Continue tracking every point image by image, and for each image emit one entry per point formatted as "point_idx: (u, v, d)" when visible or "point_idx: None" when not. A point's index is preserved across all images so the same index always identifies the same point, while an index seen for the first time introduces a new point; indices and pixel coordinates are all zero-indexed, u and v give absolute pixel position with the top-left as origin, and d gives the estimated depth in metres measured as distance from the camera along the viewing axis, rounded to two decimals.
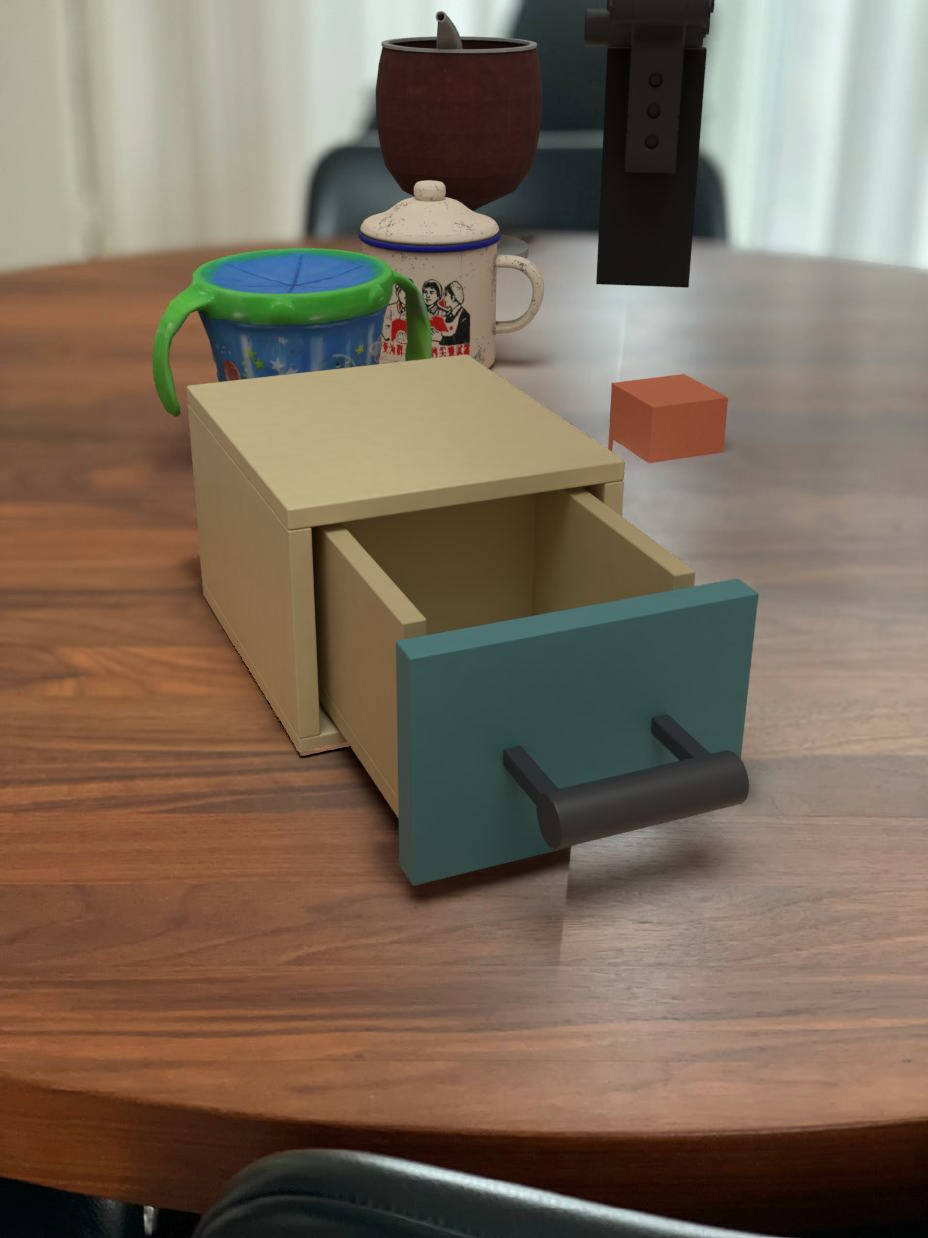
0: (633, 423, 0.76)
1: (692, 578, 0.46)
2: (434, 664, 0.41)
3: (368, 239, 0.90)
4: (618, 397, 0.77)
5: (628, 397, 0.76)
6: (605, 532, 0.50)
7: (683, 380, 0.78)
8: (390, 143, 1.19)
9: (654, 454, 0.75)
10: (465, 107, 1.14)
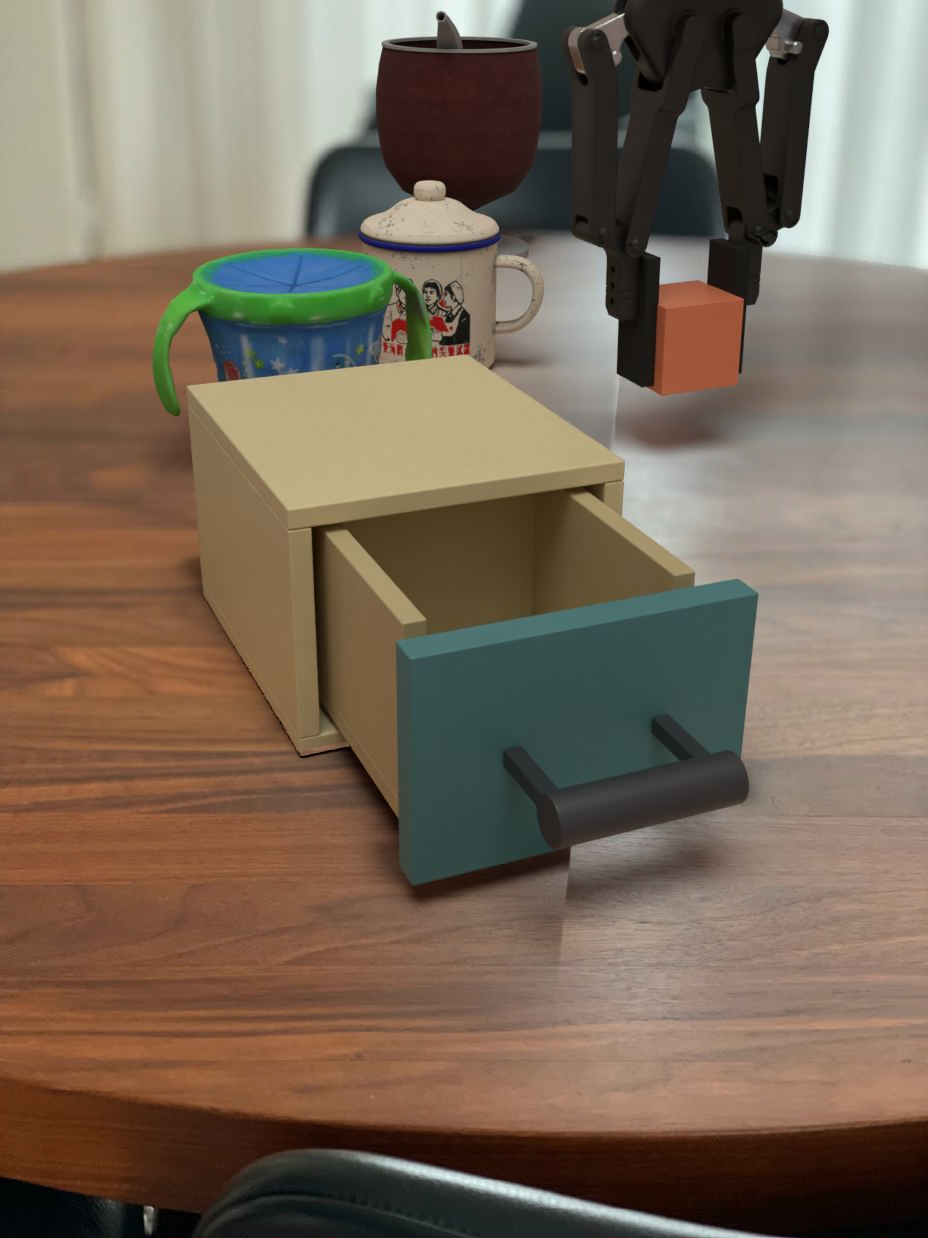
0: None
1: (692, 578, 0.46)
2: (434, 664, 0.41)
3: (368, 239, 0.90)
4: None
5: None
6: (605, 532, 0.50)
7: (697, 285, 0.76)
8: (390, 143, 1.19)
9: (668, 359, 0.73)
10: (465, 107, 1.14)
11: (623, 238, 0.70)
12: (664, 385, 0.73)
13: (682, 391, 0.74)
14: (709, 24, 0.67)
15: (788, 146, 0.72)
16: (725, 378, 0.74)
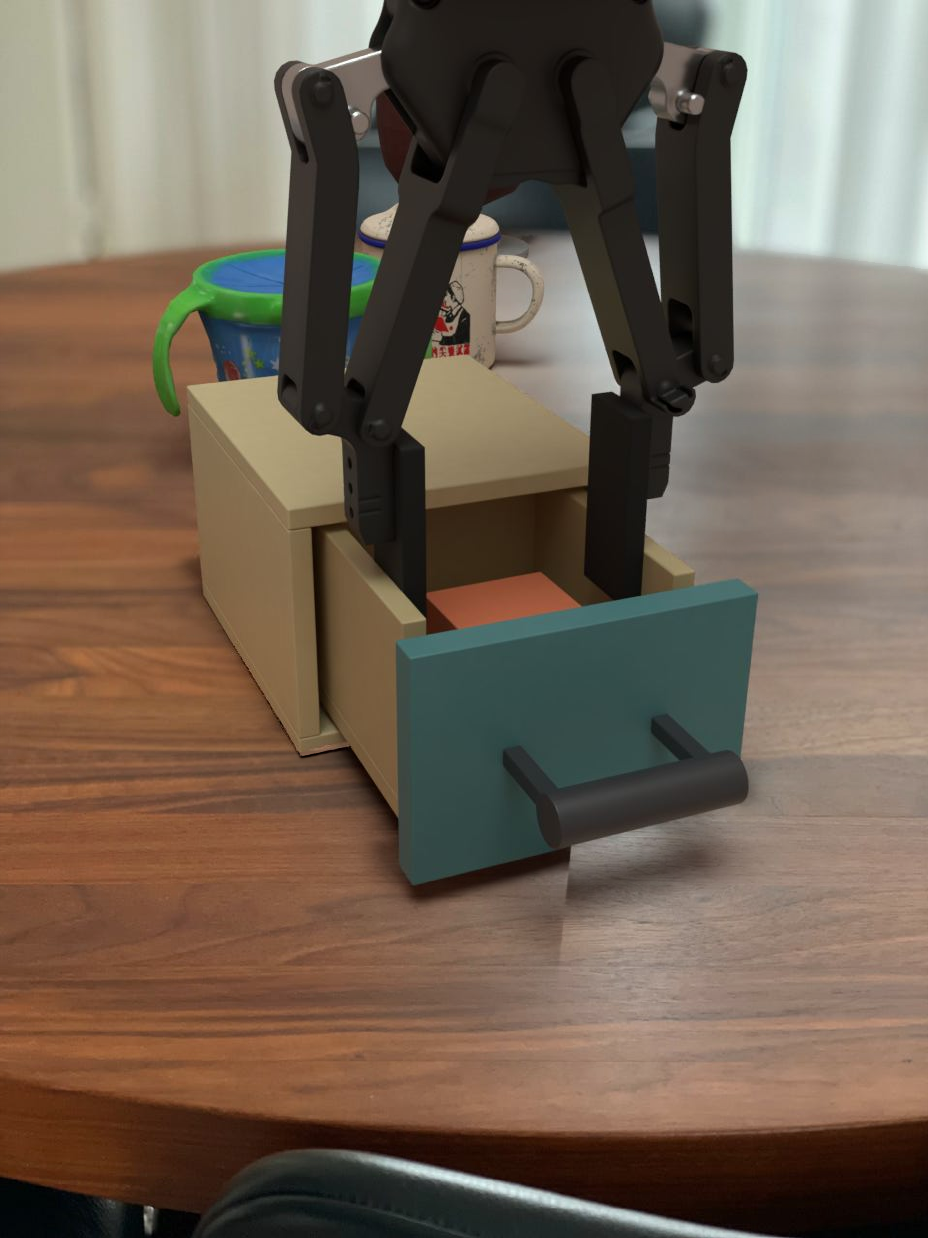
0: None
1: (692, 578, 0.46)
2: (434, 664, 0.41)
3: (368, 239, 0.90)
4: (433, 618, 0.49)
5: (444, 622, 0.48)
6: None
7: (537, 586, 0.50)
8: (390, 143, 1.19)
9: None
10: None
11: (360, 415, 0.42)
12: None
13: None
14: (533, 76, 0.40)
15: (700, 260, 0.44)
16: None
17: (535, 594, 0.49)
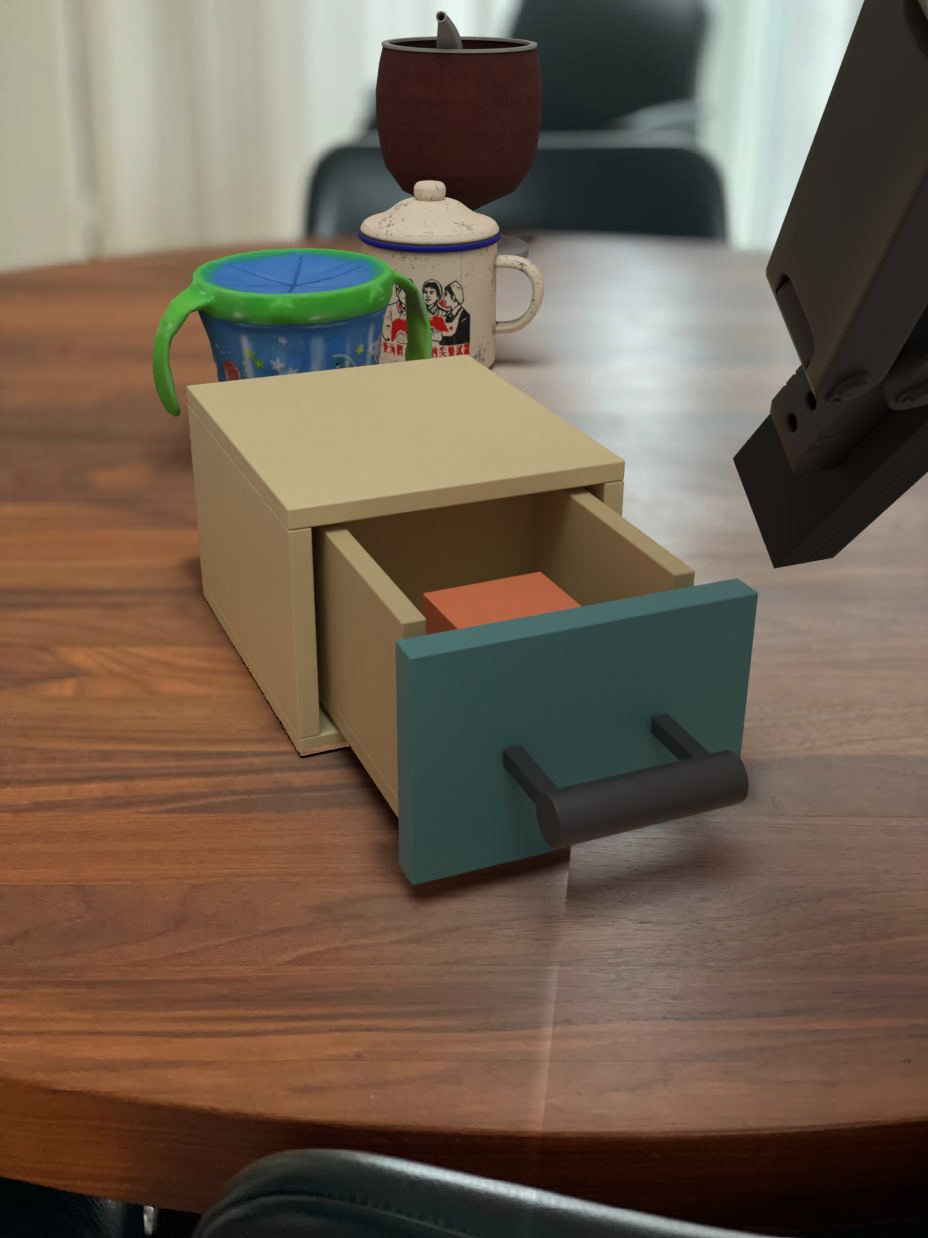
0: None
1: (692, 578, 0.46)
2: (434, 664, 0.41)
3: (368, 239, 0.90)
4: (432, 618, 0.49)
5: (444, 622, 0.48)
6: (605, 532, 0.50)
7: (537, 586, 0.50)
8: (390, 143, 1.19)
9: None
10: (465, 107, 1.14)
11: (891, 371, 0.24)
12: None
13: None
14: None
15: None
16: None
17: (535, 594, 0.49)
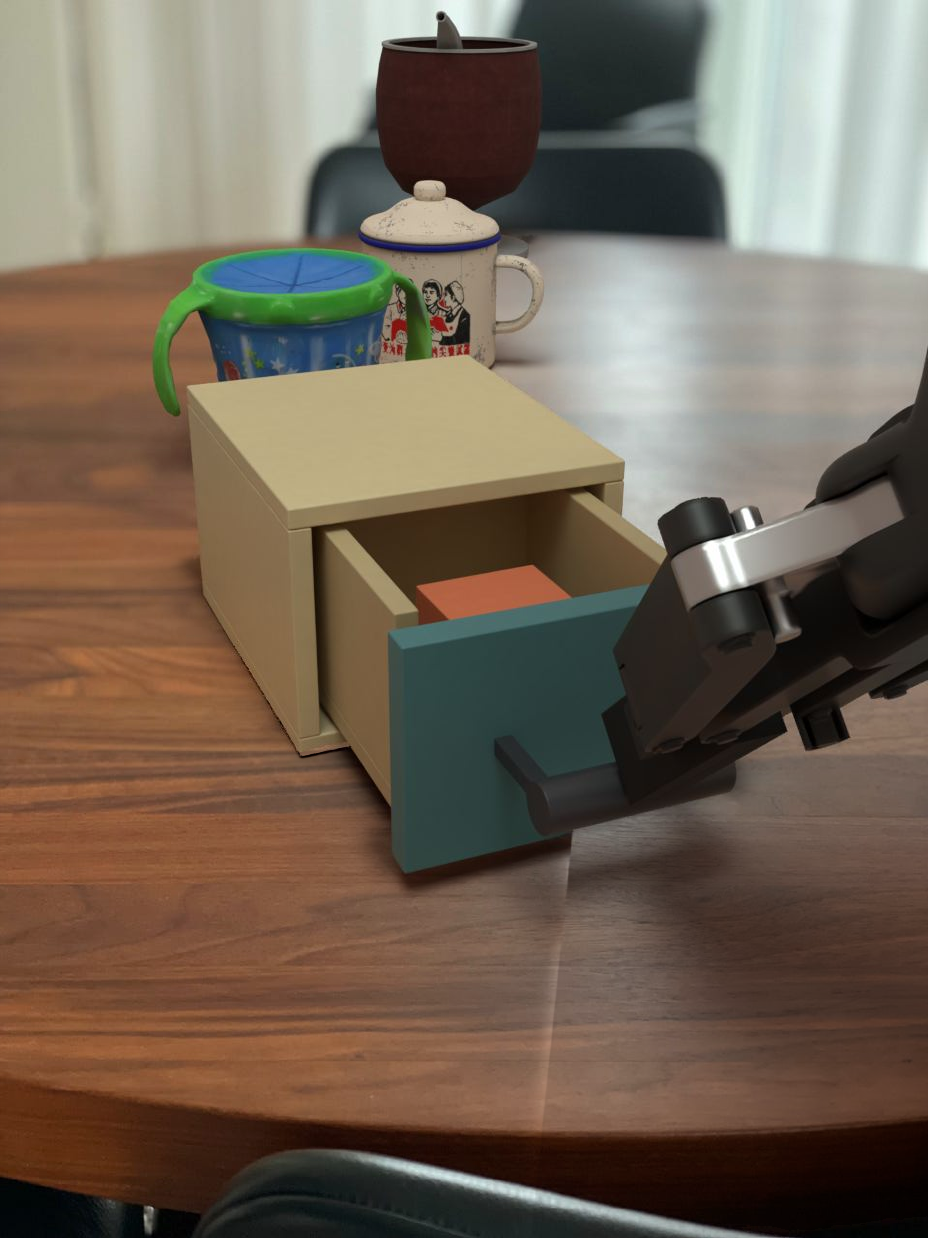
0: None
1: None
2: (425, 654, 0.41)
3: (368, 239, 0.90)
4: (426, 611, 0.49)
5: (437, 614, 0.48)
6: (596, 525, 0.50)
7: (529, 579, 0.50)
8: (390, 143, 1.19)
9: None
10: (465, 107, 1.14)
11: None
12: None
13: None
14: None
15: None
16: None
17: (527, 586, 0.50)
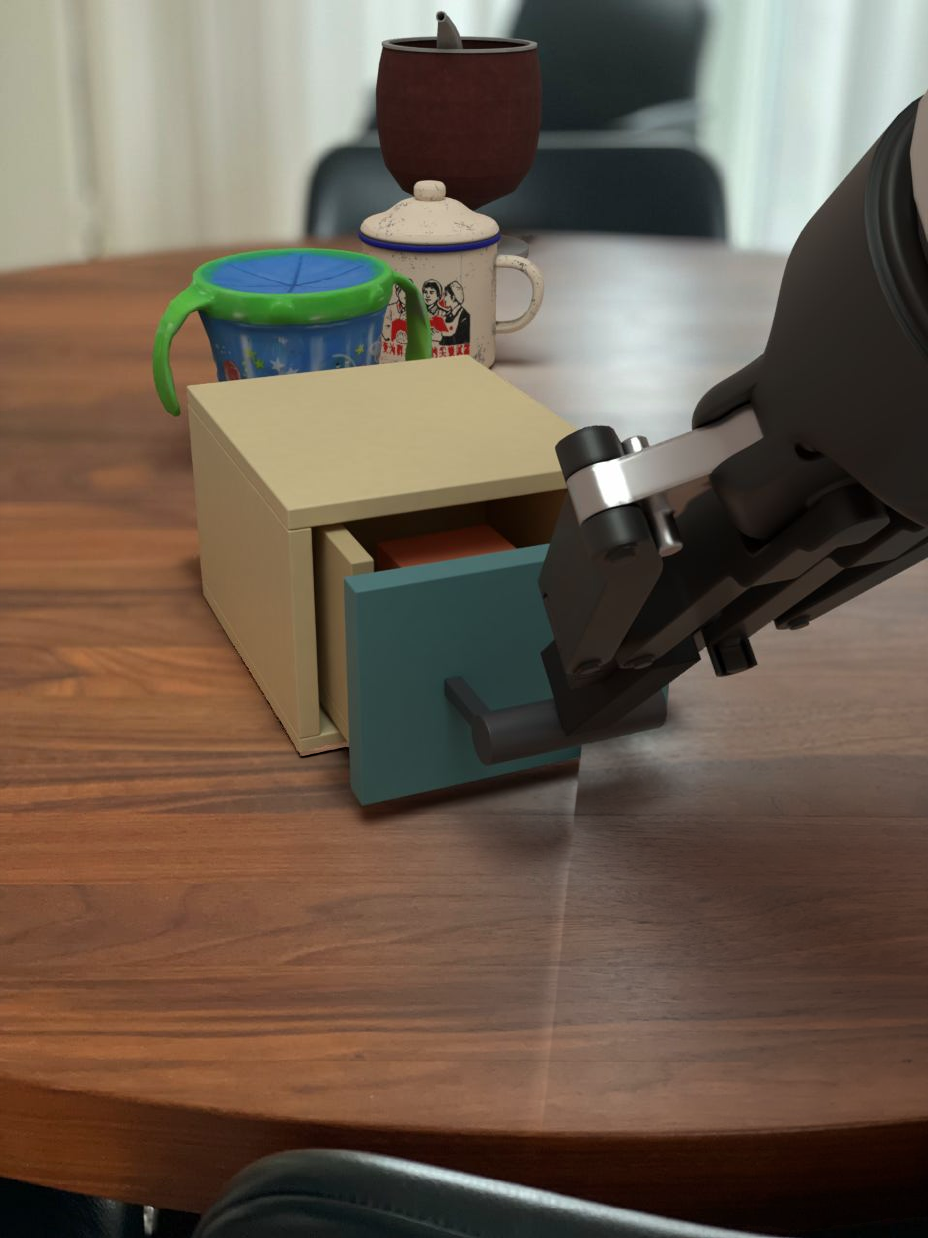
0: None
1: None
2: (378, 597, 0.44)
3: (368, 239, 0.90)
4: (385, 566, 0.52)
5: (395, 568, 0.51)
6: None
7: (483, 537, 0.53)
8: (390, 143, 1.19)
9: None
10: (465, 107, 1.14)
11: (619, 649, 0.37)
12: None
13: None
14: None
15: (878, 567, 0.35)
16: None
17: (481, 543, 0.53)
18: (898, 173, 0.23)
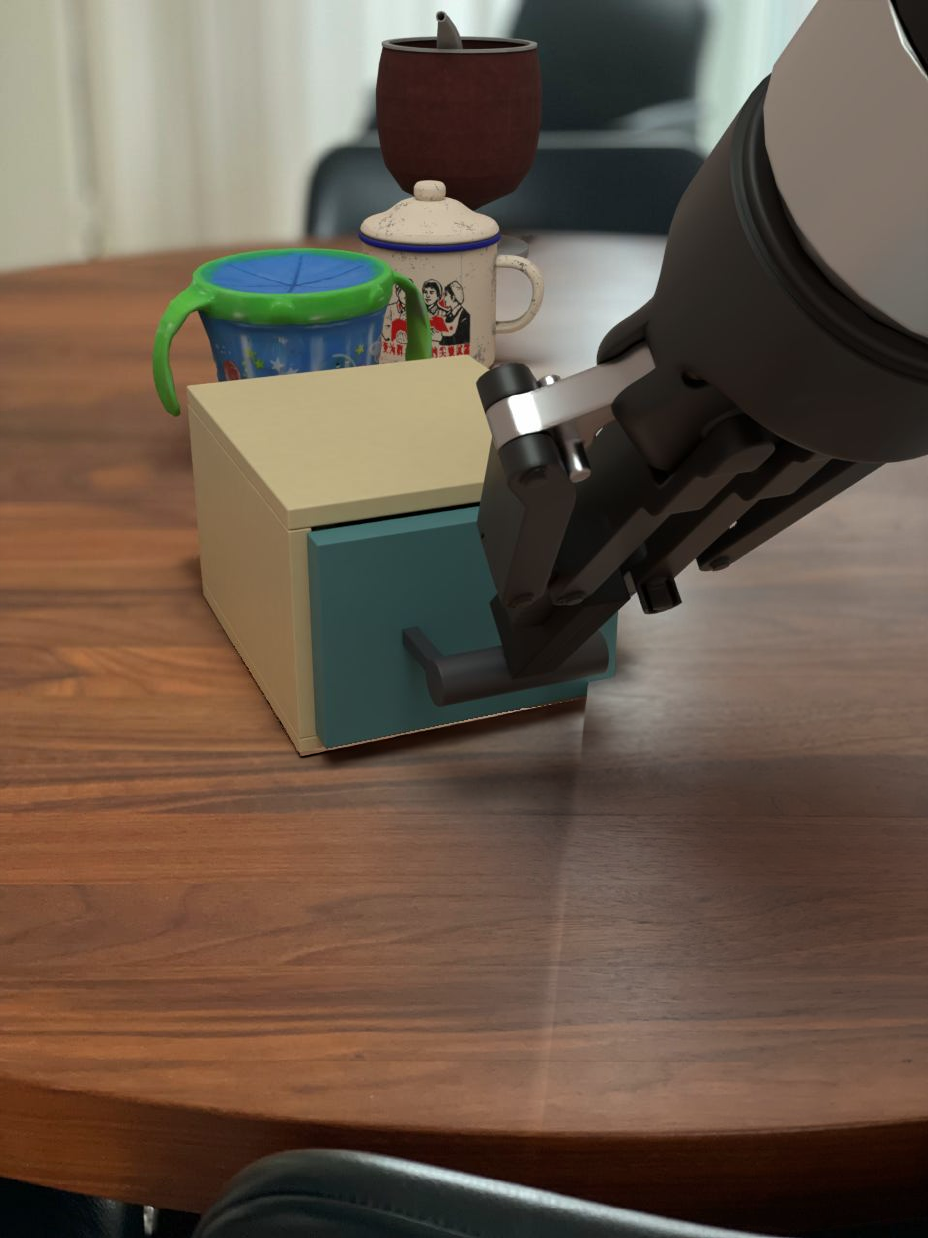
0: None
1: None
2: (338, 551, 0.48)
3: (368, 239, 0.90)
4: None
5: None
6: None
7: None
8: (390, 143, 1.19)
9: None
10: (465, 107, 1.14)
11: (552, 586, 0.40)
12: None
13: None
14: None
15: (786, 507, 0.38)
16: None
17: (441, 507, 0.56)
18: (758, 128, 0.26)
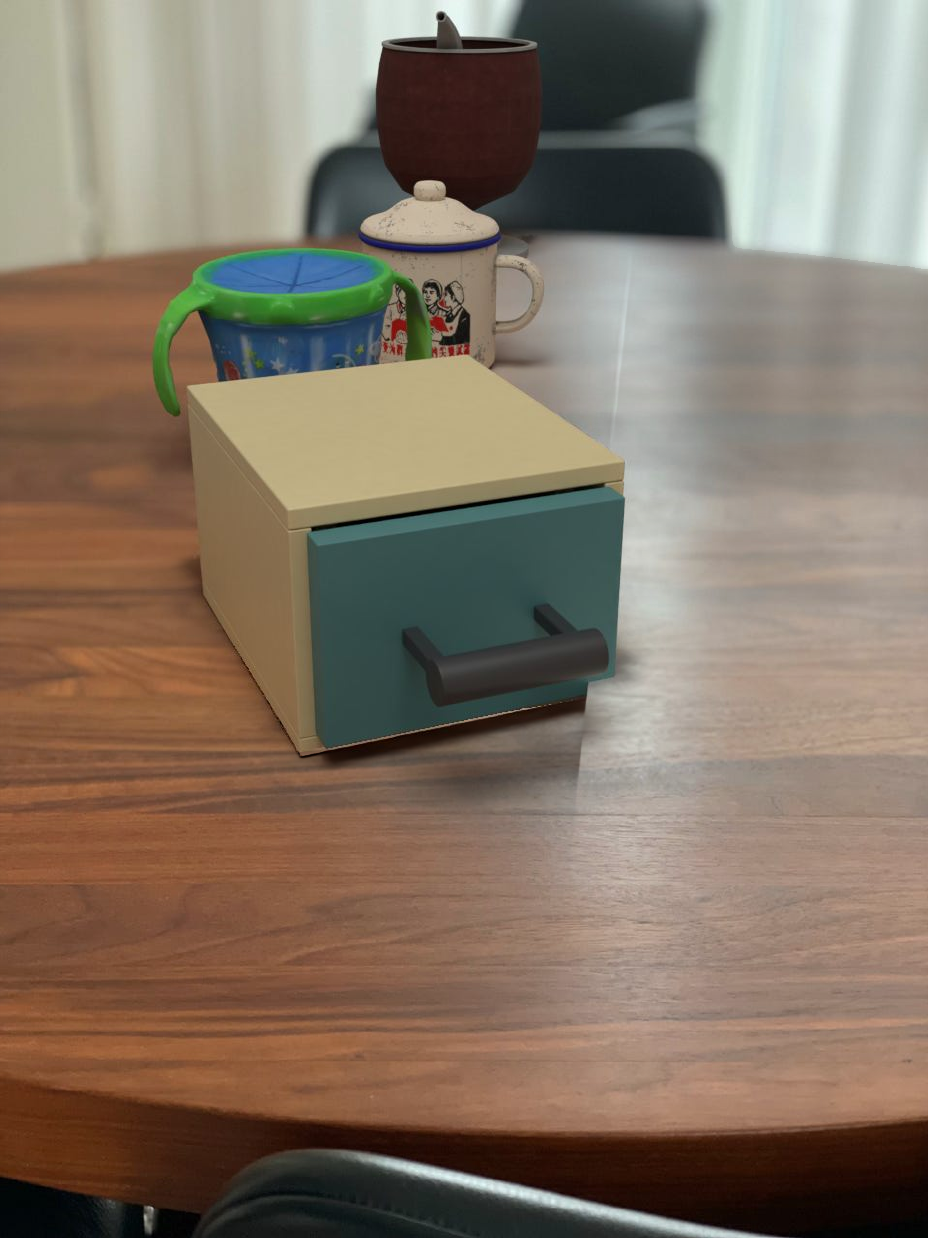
0: None
1: (572, 488, 0.53)
2: (338, 551, 0.48)
3: (368, 239, 0.90)
4: None
5: None
6: None
7: None
8: (390, 143, 1.19)
9: None
10: (465, 107, 1.14)
11: None
12: None
13: None
14: None
15: None
16: None
17: (441, 507, 0.56)
18: None
